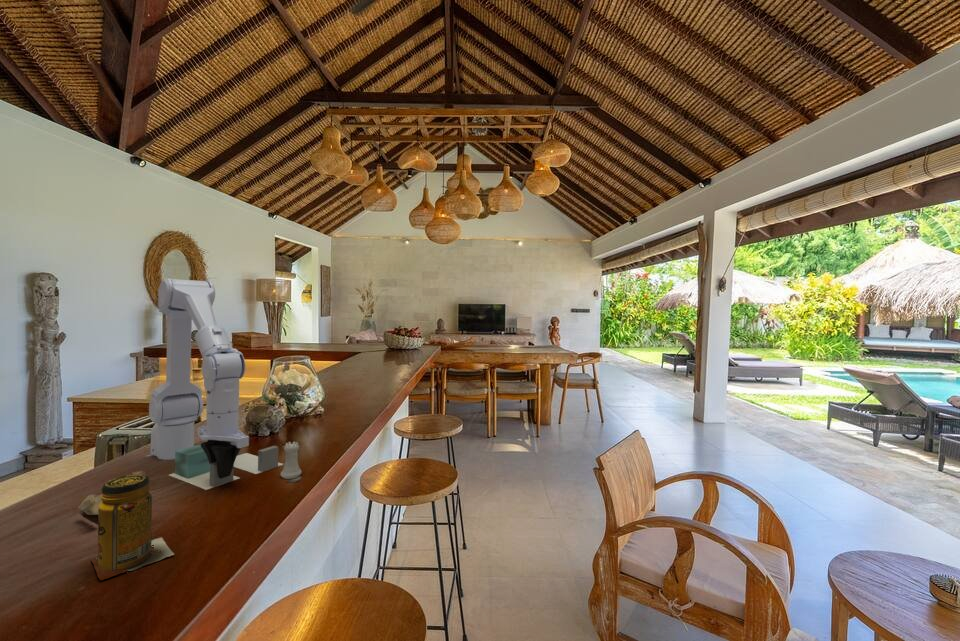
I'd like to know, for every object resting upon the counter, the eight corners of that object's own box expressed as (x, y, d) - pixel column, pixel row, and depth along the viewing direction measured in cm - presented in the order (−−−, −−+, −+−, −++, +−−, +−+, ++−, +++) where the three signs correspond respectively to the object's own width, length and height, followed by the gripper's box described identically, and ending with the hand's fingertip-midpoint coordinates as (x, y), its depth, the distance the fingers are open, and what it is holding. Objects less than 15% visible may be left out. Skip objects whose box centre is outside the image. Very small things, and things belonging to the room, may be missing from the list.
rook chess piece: (293, 484, 89) (294, 447, 89) (275, 482, 90) (275, 445, 90) (306, 476, 93) (307, 441, 93) (288, 474, 94) (289, 439, 94)
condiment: (90, 561, 61) (91, 480, 61) (161, 538, 68) (162, 465, 67) (99, 583, 56) (100, 495, 56) (174, 556, 63) (175, 477, 63)
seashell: (70, 536, 68) (70, 504, 67) (95, 495, 82) (95, 469, 82) (134, 523, 72) (135, 493, 72) (147, 487, 86) (148, 462, 86)
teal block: (174, 473, 91) (175, 451, 90) (199, 466, 95) (199, 444, 95) (187, 478, 88) (188, 455, 88) (212, 471, 93) (212, 448, 93)
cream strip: (168, 478, 90) (168, 454, 90) (202, 468, 96) (202, 445, 96) (206, 493, 83) (206, 467, 83) (240, 481, 90) (240, 457, 89)
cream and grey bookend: (217, 464, 98) (218, 442, 98) (246, 456, 105) (246, 435, 104) (255, 477, 92) (256, 453, 92) (283, 467, 98) (284, 445, 98)
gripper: (182, 409, 86) (181, 474, 87) (224, 420, 80) (223, 490, 80) (217, 403, 93) (216, 464, 93) (259, 412, 86) (257, 477, 86)
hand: (221, 475), depth 87 cm, fingers closed on cream strip
